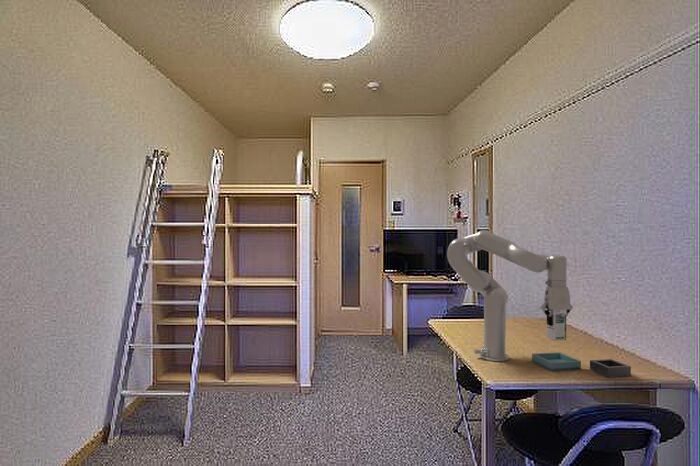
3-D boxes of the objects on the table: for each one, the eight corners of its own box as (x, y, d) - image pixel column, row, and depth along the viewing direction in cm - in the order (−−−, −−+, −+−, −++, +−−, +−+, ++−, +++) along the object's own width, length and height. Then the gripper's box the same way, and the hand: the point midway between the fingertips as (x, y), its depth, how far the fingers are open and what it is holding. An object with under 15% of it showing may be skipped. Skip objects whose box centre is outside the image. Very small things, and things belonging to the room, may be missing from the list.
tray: (551, 371, 190) (551, 363, 190) (531, 361, 204) (532, 353, 204) (580, 369, 193) (580, 361, 193) (559, 359, 207) (559, 352, 206)
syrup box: (554, 341, 195) (555, 307, 194) (546, 337, 200) (546, 305, 200) (566, 340, 196) (566, 307, 196) (557, 337, 202) (558, 304, 201)
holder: (608, 377, 182) (608, 367, 182) (589, 369, 193) (589, 360, 193) (630, 376, 184) (630, 366, 184) (611, 368, 195) (611, 359, 195)
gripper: (544, 285, 192) (544, 327, 193) (580, 284, 196) (579, 325, 196) (534, 283, 200) (533, 323, 200) (568, 282, 203) (568, 322, 203)
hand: (556, 324), depth 198 cm, fingers closed on syrup box, 5 cm apart
